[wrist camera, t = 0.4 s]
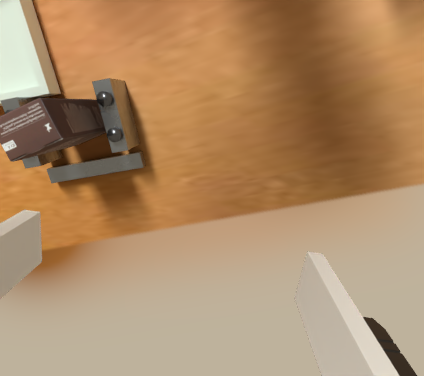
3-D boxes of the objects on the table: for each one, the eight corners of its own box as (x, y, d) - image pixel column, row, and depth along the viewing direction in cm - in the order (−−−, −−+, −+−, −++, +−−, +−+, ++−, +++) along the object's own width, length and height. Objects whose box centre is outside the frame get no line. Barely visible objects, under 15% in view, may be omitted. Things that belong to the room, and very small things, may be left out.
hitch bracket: (28, 100, 38) (-4, 100, 32) (124, 81, 37) (107, 77, 31) (56, 180, 41) (31, 193, 36) (145, 165, 40) (133, 175, 34)
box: (96, 96, 37) (40, 95, 26) (112, 129, 39) (65, 143, 27) (56, 114, 38) (-16, 121, 27) (73, 146, 39) (11, 166, 28)
